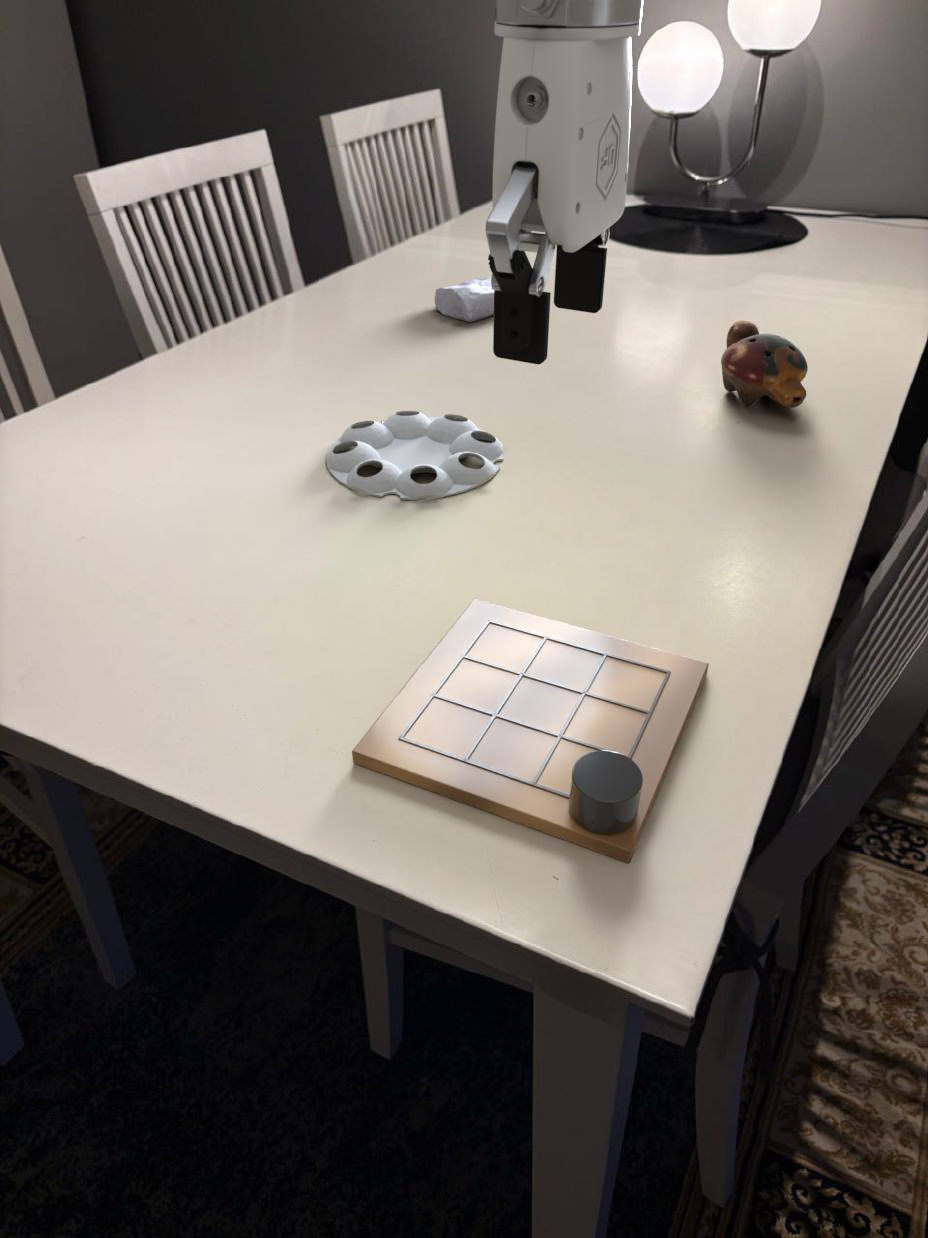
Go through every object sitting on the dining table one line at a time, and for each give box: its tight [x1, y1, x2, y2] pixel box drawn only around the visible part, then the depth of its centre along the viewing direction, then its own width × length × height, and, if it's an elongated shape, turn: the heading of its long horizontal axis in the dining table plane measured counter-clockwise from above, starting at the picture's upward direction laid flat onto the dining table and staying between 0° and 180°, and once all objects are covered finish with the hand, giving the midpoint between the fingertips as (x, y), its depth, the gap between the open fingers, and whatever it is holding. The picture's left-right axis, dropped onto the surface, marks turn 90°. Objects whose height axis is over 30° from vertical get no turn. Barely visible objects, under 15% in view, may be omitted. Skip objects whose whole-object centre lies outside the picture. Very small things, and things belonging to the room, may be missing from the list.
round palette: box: [325, 410, 505, 501], centre depth 100 cm, size 20×20×2 cm
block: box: [434, 276, 494, 323], centre depth 139 cm, size 12×5×10 cm
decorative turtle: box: [720, 319, 808, 409], centre depth 111 cm, size 10×15×8 cm, turn 23°
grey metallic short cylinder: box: [569, 750, 643, 834], centre depth 57 cm, size 4×4×3 cm
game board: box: [351, 598, 710, 864], centre depth 67 cm, size 20×20×1 cm
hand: (550, 332), depth 57 cm, fingers open, 9 cm apart
